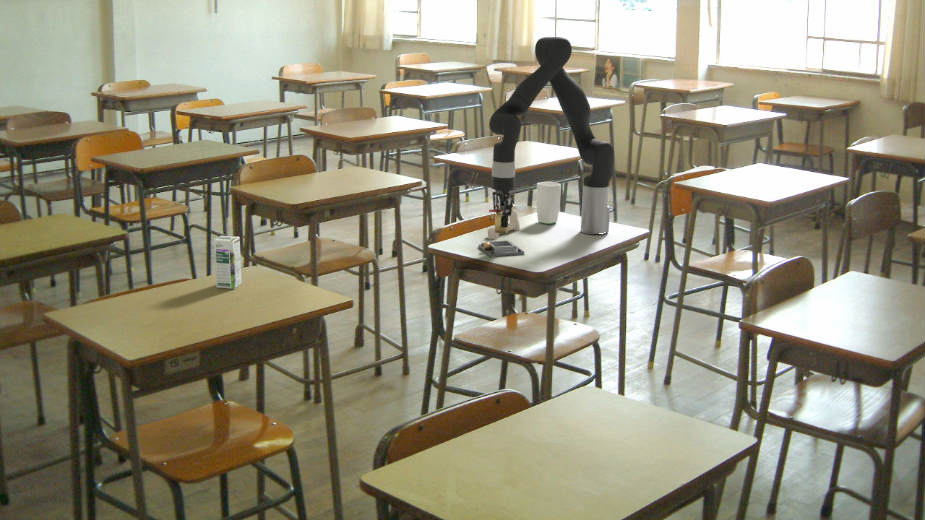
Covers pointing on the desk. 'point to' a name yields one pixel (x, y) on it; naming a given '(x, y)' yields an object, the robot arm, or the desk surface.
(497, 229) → the valve
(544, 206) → the cup
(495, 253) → the grey compartment tray
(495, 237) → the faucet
